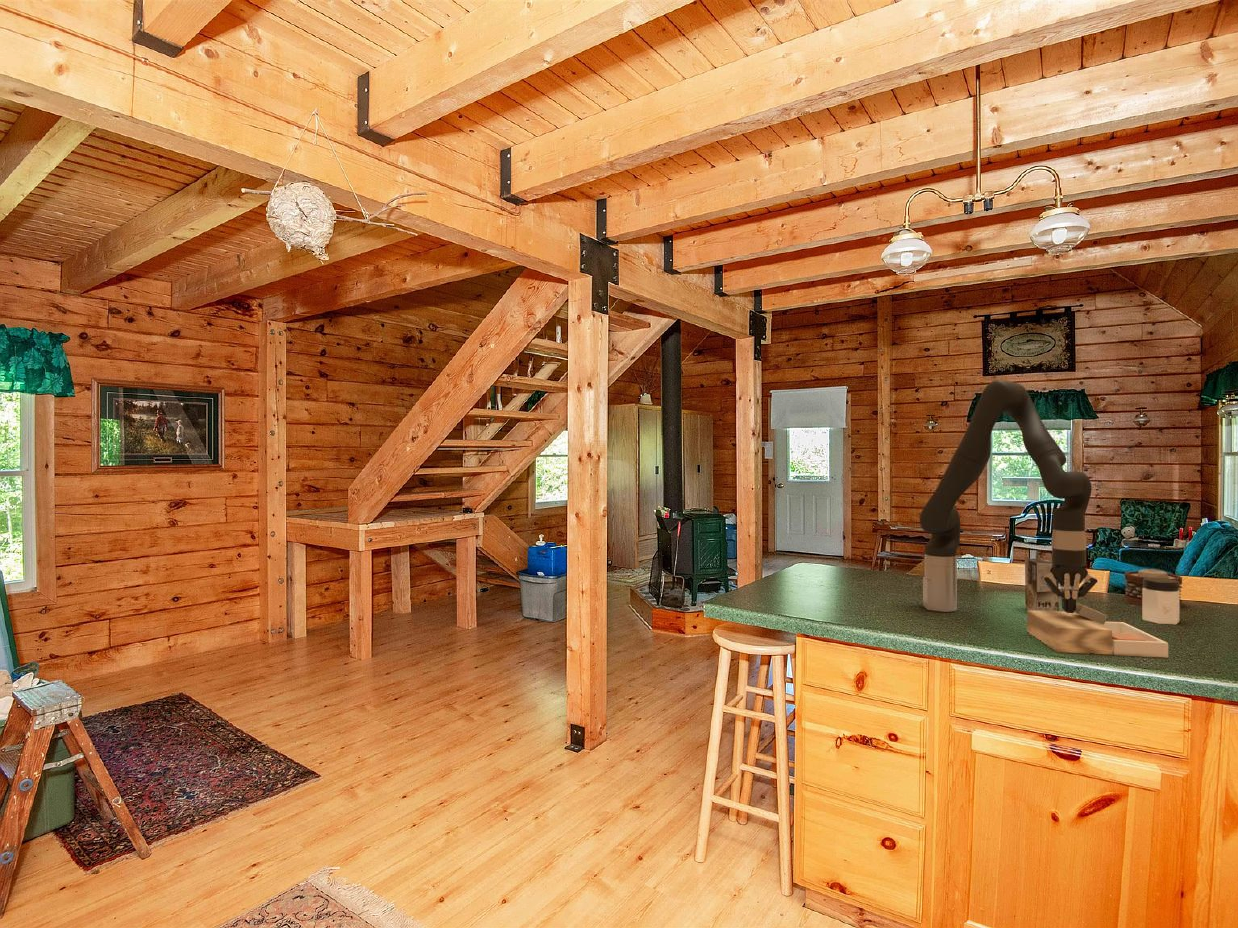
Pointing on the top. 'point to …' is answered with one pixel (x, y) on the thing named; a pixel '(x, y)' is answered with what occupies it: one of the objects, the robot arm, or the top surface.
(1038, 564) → the coffee box
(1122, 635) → the terracotta tile
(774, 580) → the top surface
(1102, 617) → the slate tile
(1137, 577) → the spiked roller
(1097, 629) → the board
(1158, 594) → the jar
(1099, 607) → the top surface
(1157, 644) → the box
